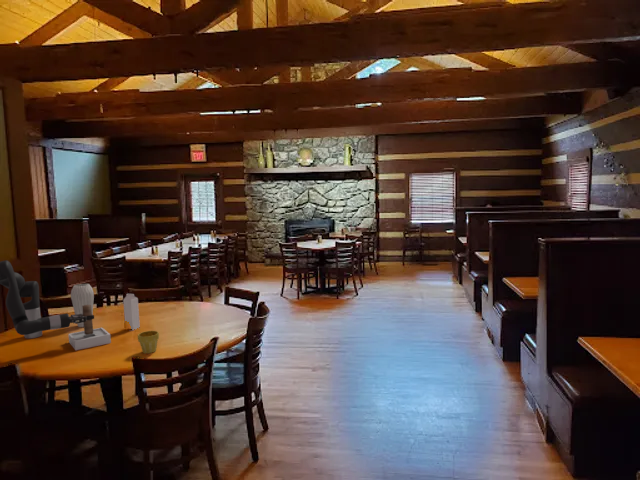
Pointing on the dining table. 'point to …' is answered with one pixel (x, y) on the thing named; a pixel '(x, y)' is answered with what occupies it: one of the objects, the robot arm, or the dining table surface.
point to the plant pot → (148, 341)
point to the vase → (82, 298)
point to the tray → (89, 339)
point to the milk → (131, 311)
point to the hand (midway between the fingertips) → (92, 316)
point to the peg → (88, 324)
